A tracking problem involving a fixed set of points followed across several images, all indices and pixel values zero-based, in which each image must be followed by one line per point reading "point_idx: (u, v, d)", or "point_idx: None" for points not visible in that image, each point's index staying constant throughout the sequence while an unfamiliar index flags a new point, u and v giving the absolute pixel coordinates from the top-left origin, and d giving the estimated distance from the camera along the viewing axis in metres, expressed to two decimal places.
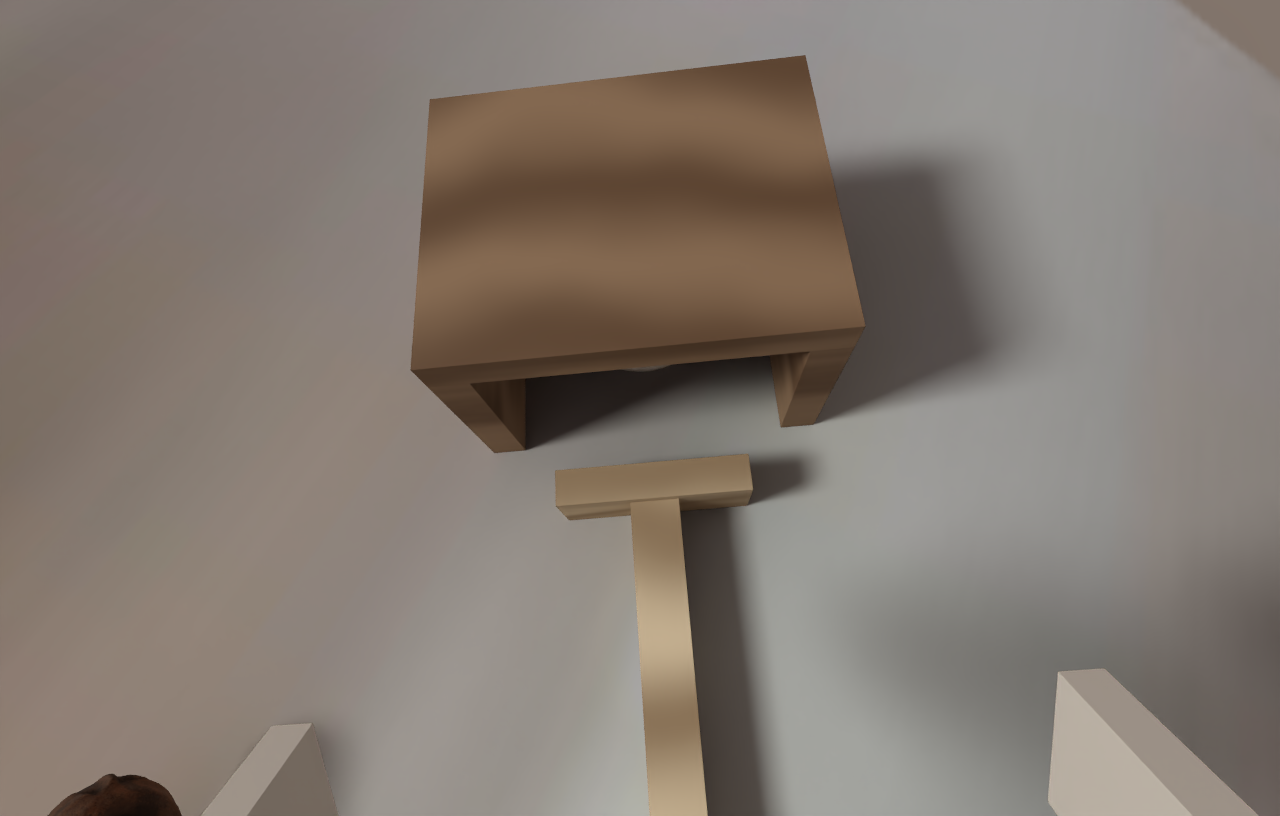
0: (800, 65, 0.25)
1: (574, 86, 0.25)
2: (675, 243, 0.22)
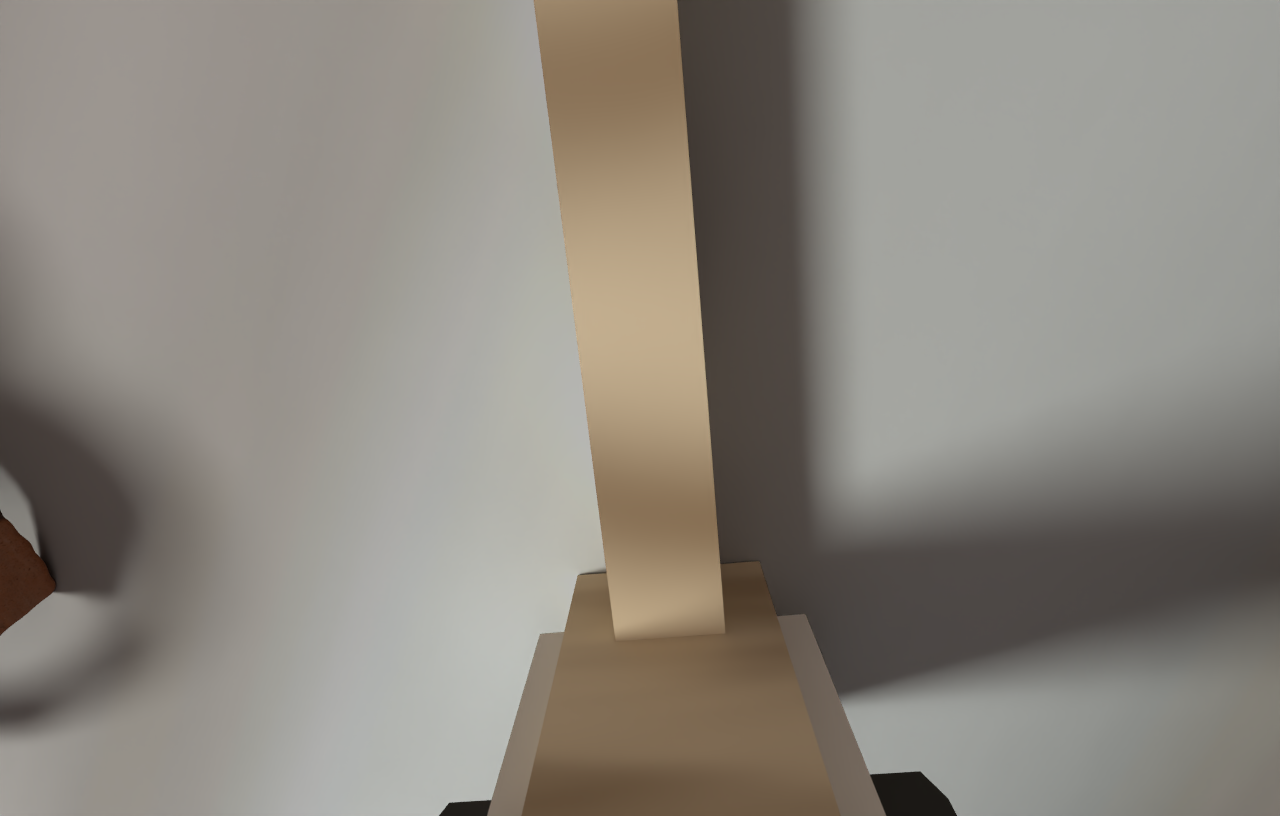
0: None
1: None
2: None
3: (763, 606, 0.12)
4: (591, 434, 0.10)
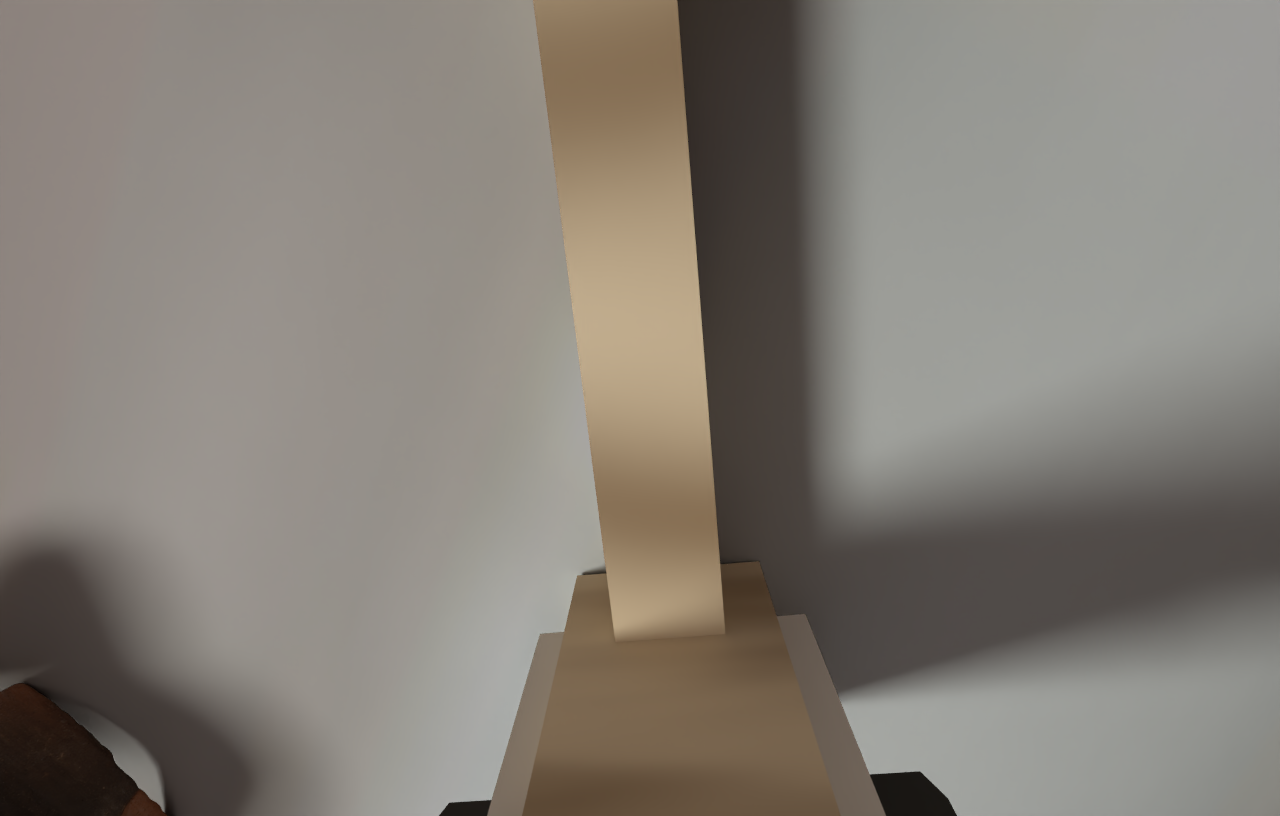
0: None
1: None
2: None
3: (763, 607, 0.12)
4: (591, 435, 0.10)
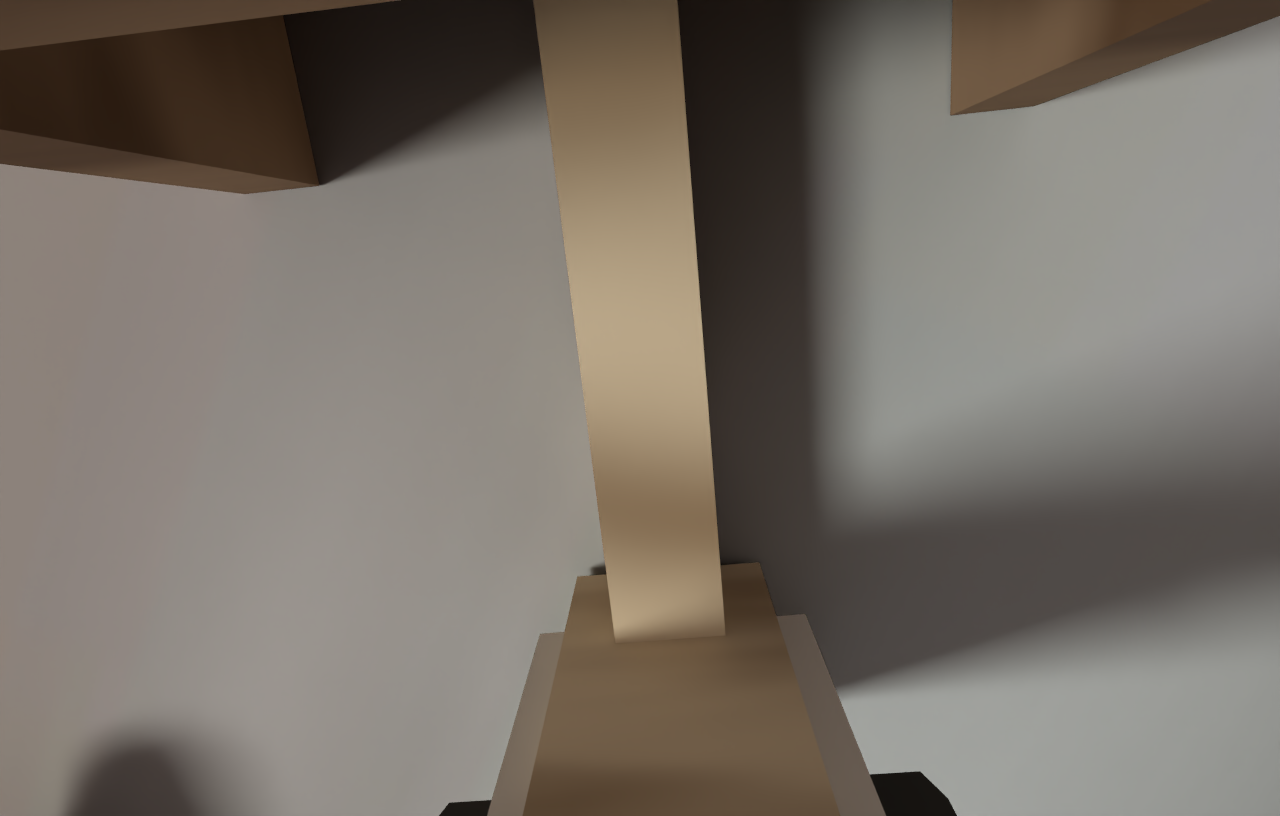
0: None
1: None
2: None
3: (763, 608, 0.12)
4: (591, 436, 0.10)
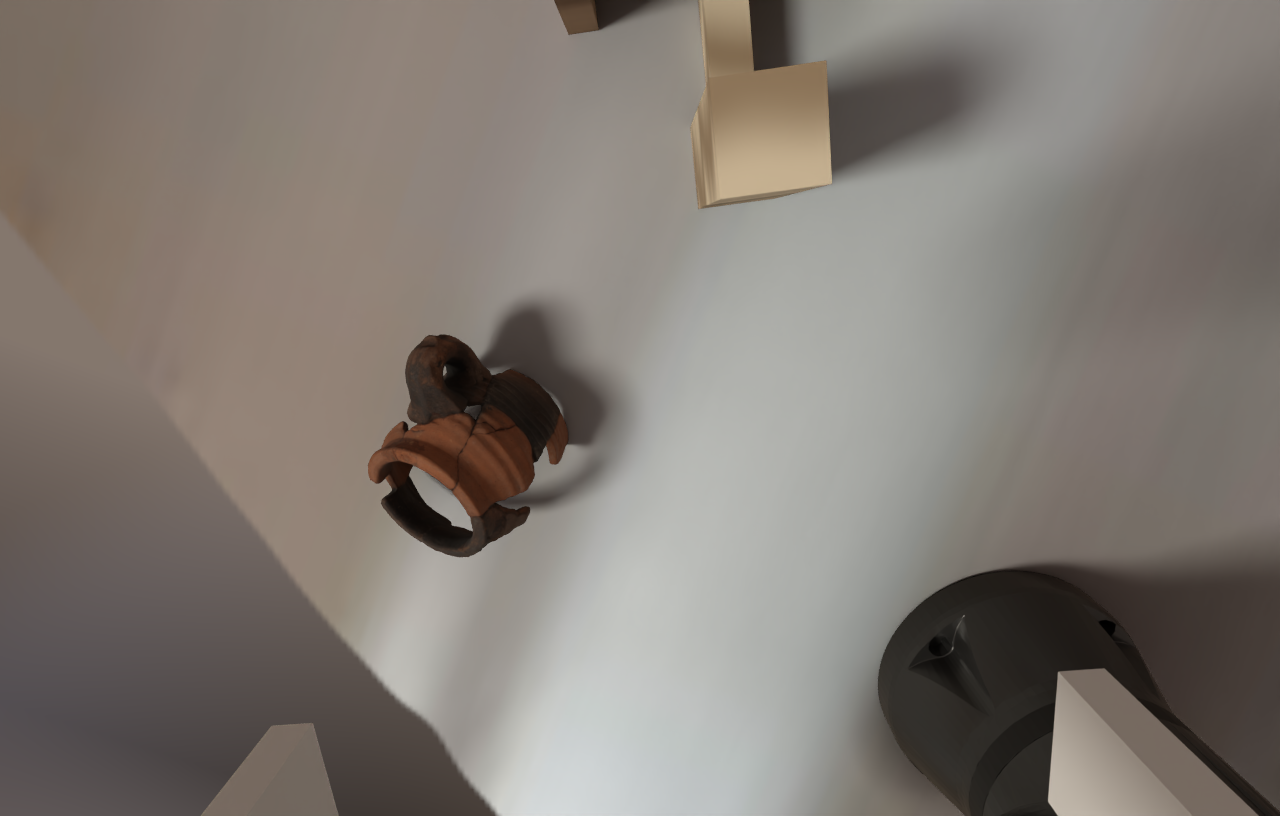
0: None
1: None
2: None
3: None
4: (706, 22, 0.29)
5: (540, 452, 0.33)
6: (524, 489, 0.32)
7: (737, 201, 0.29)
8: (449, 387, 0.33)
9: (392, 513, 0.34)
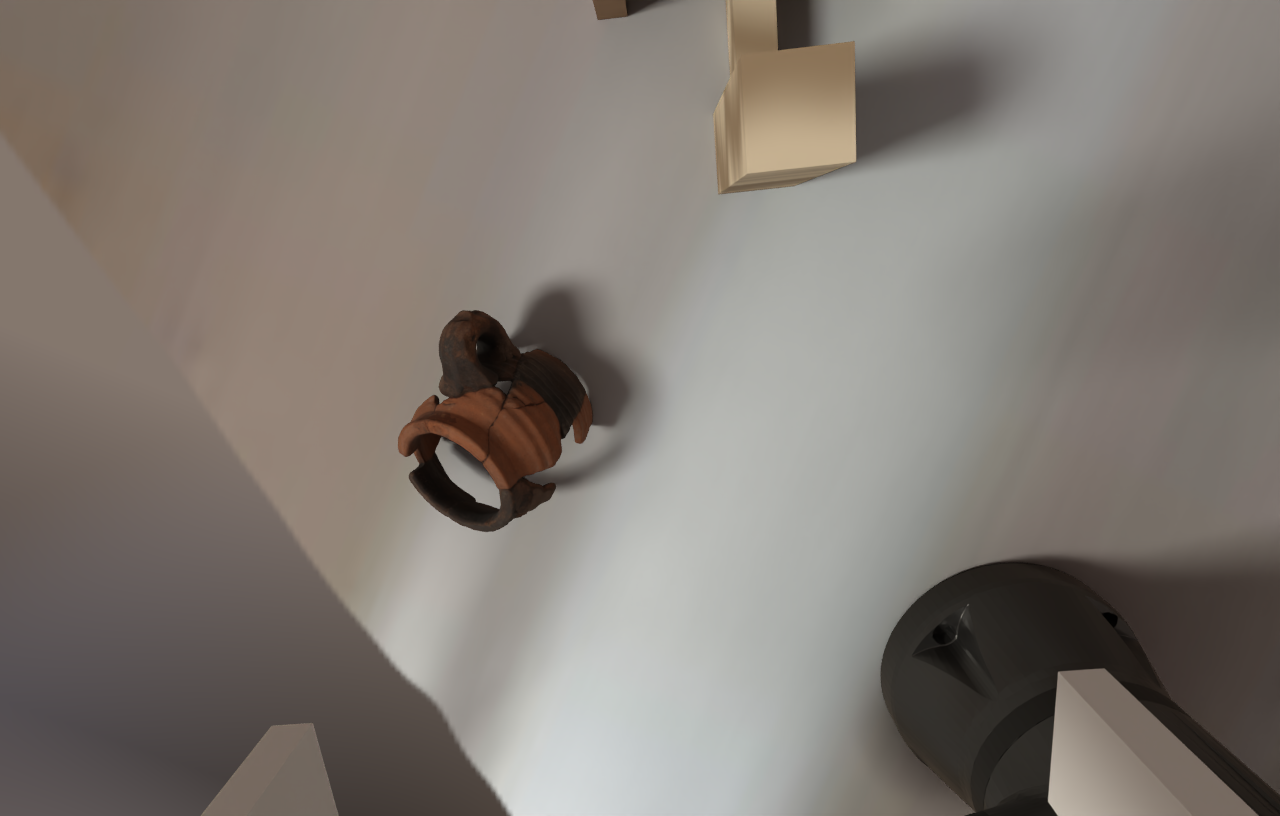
0: None
1: None
2: None
3: None
4: (734, 10, 0.30)
5: (567, 429, 0.34)
6: (551, 464, 0.33)
7: (759, 184, 0.30)
8: (480, 363, 0.33)
9: (419, 487, 0.35)
